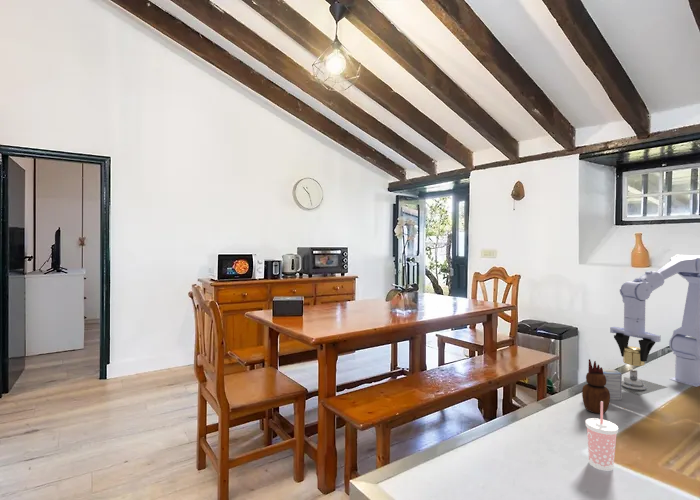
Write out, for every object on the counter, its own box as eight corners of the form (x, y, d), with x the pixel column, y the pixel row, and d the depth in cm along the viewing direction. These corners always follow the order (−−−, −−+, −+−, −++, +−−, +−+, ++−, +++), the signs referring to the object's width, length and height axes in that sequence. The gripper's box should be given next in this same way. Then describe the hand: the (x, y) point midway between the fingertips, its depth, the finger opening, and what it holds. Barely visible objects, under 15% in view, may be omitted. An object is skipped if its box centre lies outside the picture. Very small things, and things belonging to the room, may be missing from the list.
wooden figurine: (582, 412, 114) (583, 360, 113) (581, 405, 119) (582, 355, 118) (610, 417, 110) (611, 363, 110) (608, 409, 116) (609, 358, 115)
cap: (629, 360, 136) (630, 345, 136) (647, 364, 131) (647, 349, 131) (620, 362, 133) (620, 347, 133) (637, 366, 129) (637, 351, 128)
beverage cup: (587, 454, 91) (588, 394, 91) (619, 463, 88) (620, 400, 87) (582, 465, 87) (583, 402, 86) (616, 476, 83) (617, 410, 82)
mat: (635, 378, 141) (635, 377, 141) (667, 388, 132) (667, 387, 132) (606, 385, 134) (606, 384, 134) (639, 396, 125) (639, 395, 125)
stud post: (628, 381, 137) (628, 366, 137) (651, 388, 131) (651, 372, 131) (616, 385, 134) (616, 368, 134) (638, 392, 128) (638, 375, 128)
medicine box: (613, 395, 126) (614, 368, 126) (621, 401, 122) (622, 373, 121) (587, 394, 127) (587, 367, 127) (594, 400, 122) (595, 372, 122)
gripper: (604, 315, 137) (604, 354, 137) (651, 323, 124) (651, 366, 124) (617, 313, 140) (616, 351, 140) (664, 321, 127) (663, 363, 127)
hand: (633, 358), depth 132 cm, fingers closed on cap, 5 cm apart
